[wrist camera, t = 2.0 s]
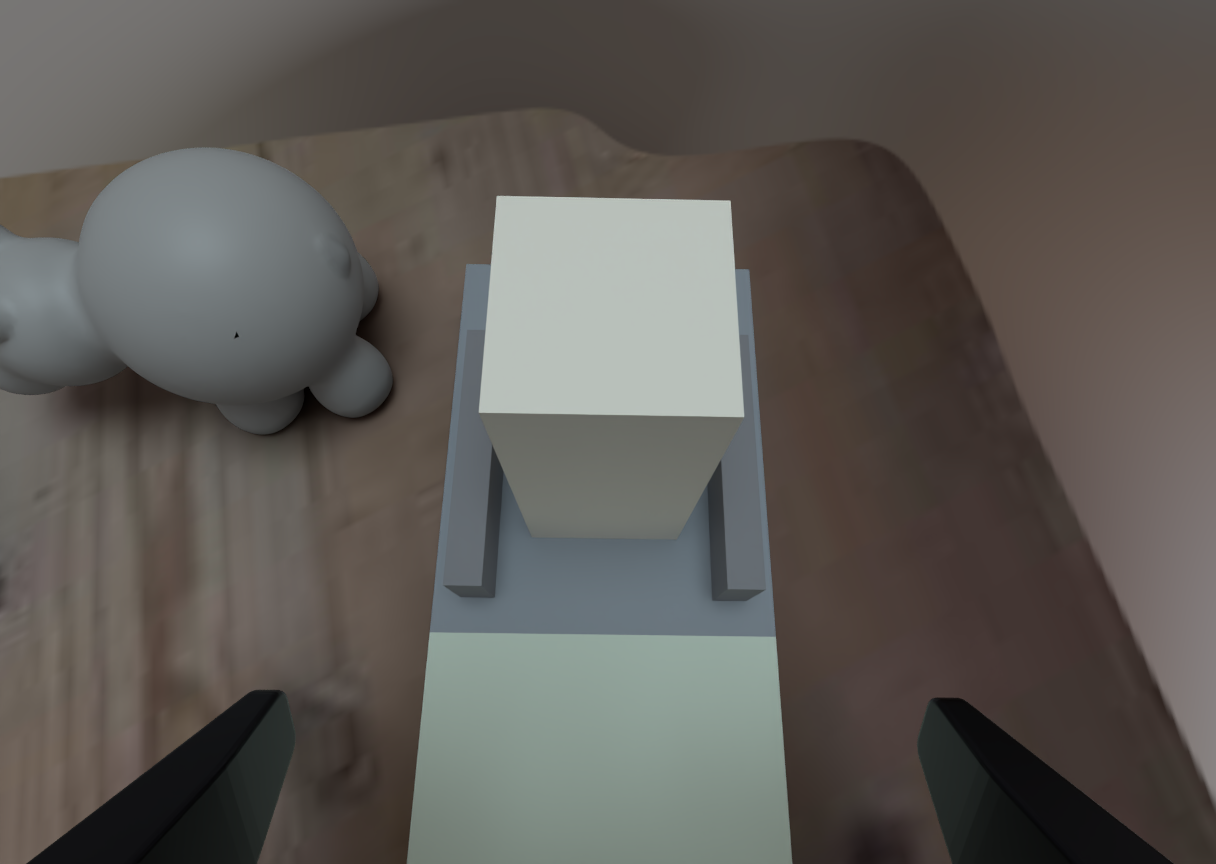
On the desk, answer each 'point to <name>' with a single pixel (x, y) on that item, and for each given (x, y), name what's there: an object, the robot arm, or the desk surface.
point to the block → (611, 360)
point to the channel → (599, 667)
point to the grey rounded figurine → (198, 293)
